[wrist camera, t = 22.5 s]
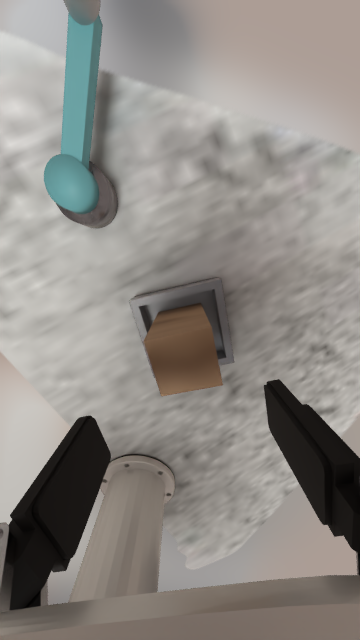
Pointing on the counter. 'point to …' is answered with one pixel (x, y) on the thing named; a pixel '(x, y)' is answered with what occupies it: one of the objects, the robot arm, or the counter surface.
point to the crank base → (105, 204)
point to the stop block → (183, 350)
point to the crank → (77, 112)
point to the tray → (186, 295)
